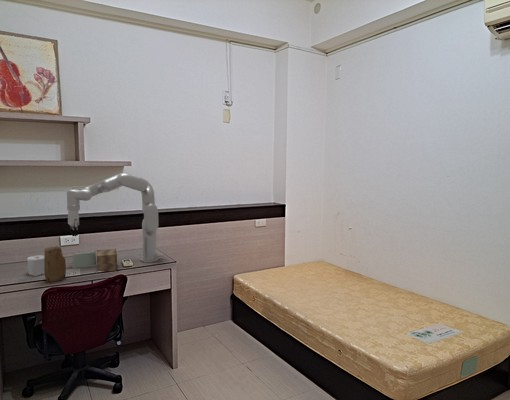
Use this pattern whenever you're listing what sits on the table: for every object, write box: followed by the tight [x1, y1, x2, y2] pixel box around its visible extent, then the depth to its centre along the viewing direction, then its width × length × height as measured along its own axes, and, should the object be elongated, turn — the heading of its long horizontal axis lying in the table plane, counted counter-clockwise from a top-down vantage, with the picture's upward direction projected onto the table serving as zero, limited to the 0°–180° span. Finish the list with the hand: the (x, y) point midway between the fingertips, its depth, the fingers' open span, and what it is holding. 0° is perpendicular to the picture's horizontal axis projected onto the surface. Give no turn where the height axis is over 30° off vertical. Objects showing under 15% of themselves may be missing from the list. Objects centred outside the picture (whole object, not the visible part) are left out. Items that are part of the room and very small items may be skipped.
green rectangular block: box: [72, 250, 97, 269], centre depth 249 cm, size 3×14×10 cm, turn 123°
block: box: [43, 245, 67, 283], centre depth 223 cm, size 11×8×20 cm
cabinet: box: [96, 248, 118, 272], centre depth 248 cm, size 12×14×11 cm
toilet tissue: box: [26, 254, 45, 277], centre depth 234 cm, size 11×12×10 cm
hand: (74, 235), depth 248 cm, fingers open, 3 cm apart
